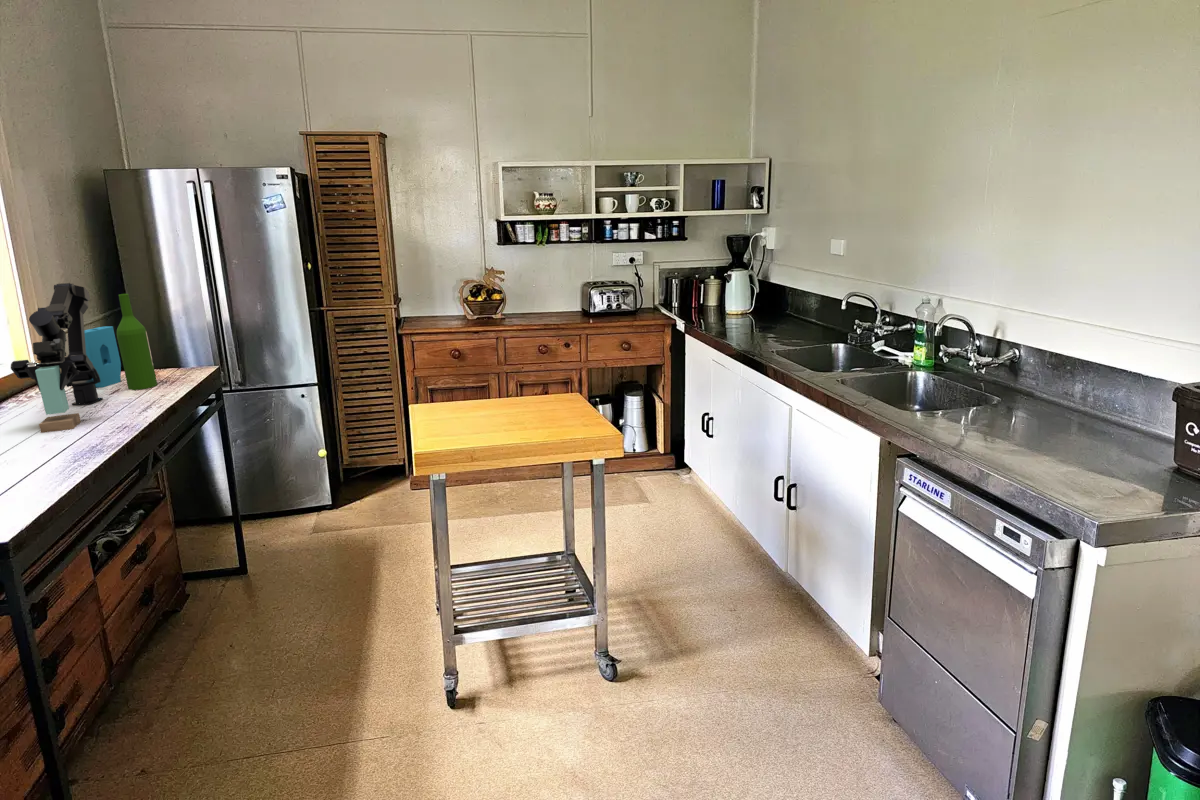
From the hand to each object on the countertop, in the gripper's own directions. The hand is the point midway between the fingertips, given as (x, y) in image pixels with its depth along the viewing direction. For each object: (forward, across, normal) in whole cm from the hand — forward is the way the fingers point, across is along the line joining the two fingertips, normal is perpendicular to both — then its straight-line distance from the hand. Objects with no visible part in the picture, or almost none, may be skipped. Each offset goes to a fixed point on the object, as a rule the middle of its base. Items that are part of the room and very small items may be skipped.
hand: (51, 390), depth 220 cm
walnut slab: (+7, 0, +9) cm, 12 cm away
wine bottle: (-25, +13, +41) cm, 50 cm away
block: (-33, 0, +50) cm, 59 cm away
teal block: (+4, 0, +6) cm, 7 cm away
